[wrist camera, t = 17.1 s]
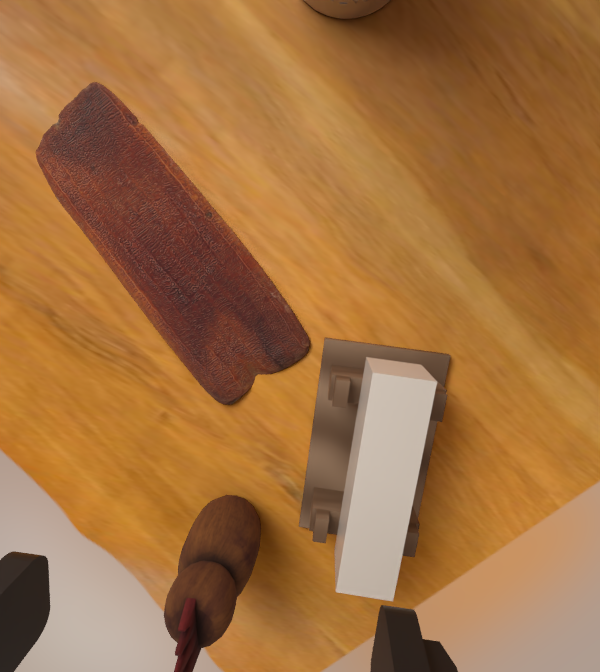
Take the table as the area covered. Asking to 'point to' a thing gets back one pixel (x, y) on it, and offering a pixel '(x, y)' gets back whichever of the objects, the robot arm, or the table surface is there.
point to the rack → (338, 428)
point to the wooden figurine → (211, 576)
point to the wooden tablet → (168, 246)
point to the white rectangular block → (382, 476)
